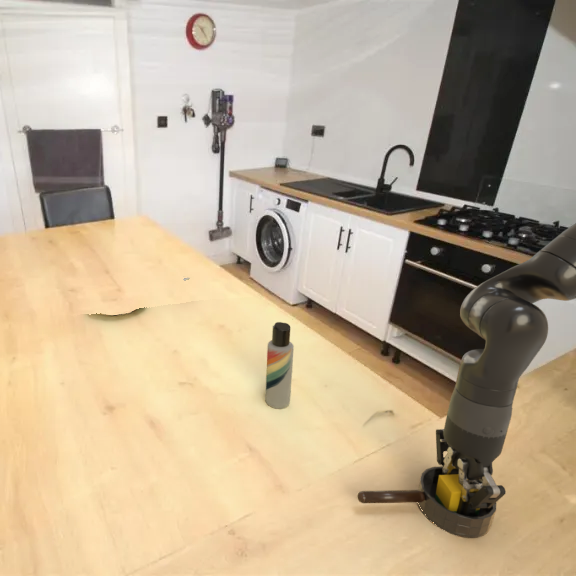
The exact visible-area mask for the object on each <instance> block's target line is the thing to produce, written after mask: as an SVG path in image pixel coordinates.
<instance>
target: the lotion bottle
mask: <svg viewBox="0 0 576 576" xmlns="http://www.w3.org/2000/svg"><path fill="white" fill-rule="evenodd" d="M271 332H272V334H271V340H270V341H269V342H268V343H267V348H266V349H267V350H266V371H265V372H266V373H265V397H264V399H265V403H266V404H267V405H268V407H271V408H273V409H277V410H278V409H280V410H281V409H285V408H287V407H289V405H290V403H291V395H292V381H293V380H292V379H293V362H294V349H295V348H294V344H293V342H291V325H290V324H289V323H287V322H282V321H277V322H275V323H274V324H273V325H272V331H271Z"/></svg>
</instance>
